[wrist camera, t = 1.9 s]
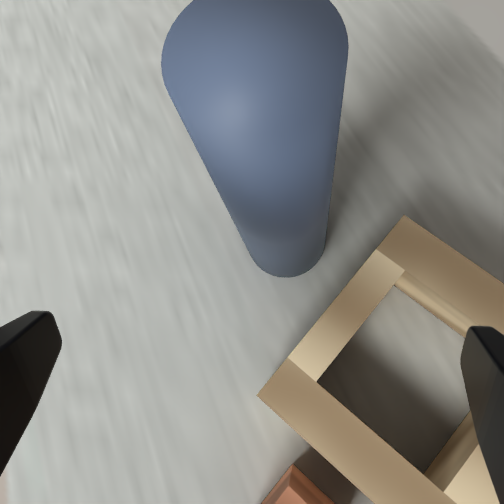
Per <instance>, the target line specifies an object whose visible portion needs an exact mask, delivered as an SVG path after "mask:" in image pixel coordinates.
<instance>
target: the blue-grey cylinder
mask: <svg viewBox="0 0 504 504" xmlns="http://www.w3.org/2000/svg"><path fill="white" fill-rule="evenodd" d="M347 59H348V36H347V32H346V28H345V25H344V22H343V20H342V18H341V16H340V14H339V12H338V11H337V9H336V8H335V6H334V5H333V4H332V3H331V2H330V1H329V0H193V1H192V2H191V3H190V4H189V5H188V6H187V7H186V8H185V9H184V10H183V11H182V12H181V13H180V15H179V16H178V17H177V19H176V20H175V22H174V23H173V25H172V26H171V28H170V30H169V32H168V34H167V37H166V40H165V43H164V46H163V51H162V61H161V67H162V76H163V80H164V84H165V86H166V89H167V91H168V93H169V95H170V97H171V99H172V101H173V103H174V105H175V107H176V109H177V111H178V113H179V115H180V117H181V119H182V121H183V123H184V125H185V127H186V129H187V131H188V133H189V135H190V137H191V139H192V141H193V143H194V145H195V147H196V149H197V151H198V153H199V155H200V157H201V159H202V160H203V162H204V164H205V166H206V168H207V170H208V172H209V174H210V176H211V178H212V180H213V182H214V184H215V186H216V188H217V190H218V192H219V194H220V196H221V198H222V200H223V202H224V204H225V206H226V208H227V210H228V212H229V214H230V216H231V218H232V220H233V222H234V223H235V225H236V227H237V229H238V231H239V233H240V235H241V237H242V239H243V241H244V243H245V245H246V247H247V249H248V251H249V253H250V255H251V257H252V259H253V260H254V262H255V263H256V264H257V266H259V267H260V268H261V269H262V270H263V271H265V272H267V273H269V274H271V275H273V276H277V277H295V276H298V275H301V274H303V273H305V272H307V271H308V270H310V269H311V268H312V267H313V266H314V265H315V264H316V263H317V262H318V260H319V259H320V257H321V255H322V253H323V250H324V246H325V238H326V230H327V222H328V214H329V206H330V198H331V189H332V181H333V173H334V165H335V157H336V149H337V140H338V132H339V124H340V116H341V108H342V99H343V91H344V83H345V75H346V67H347Z"/></svg>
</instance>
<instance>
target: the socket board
mask: <svg viewBox="0 0 504 504" xmlns="http://www.w3.org/2000/svg"><path fill="white" fill-rule="evenodd" d="M393 285H395V286H396V287H397V288H399V289H400V290H401V291H403V292H404V293H405V294H407V295H408V296H409V297H411V298H412V299H413V300H415V301H416V302H417V303H419V304H420V305H421V306H423V307H424V308H425V309H427V310H428V311H429V312H431V313H432V314H433V315H435V316H436V317H437V318H439V319H440V320H441V321H443V322H444V323H446V324H447V325H448V326H450V327H451V328H452V329H454V330H455V331H456V332H458V333H459V334H460V335H462V336H463V337H464V338H465V337H466V333H467V330H468V328H469V327H470V326H491V327H493V328H495V329H496V330H498V331H499V332H500V333H502V334H503V335H504V283H502V282H501V281H499V280H498V279H496V278H495V277H493V276H492V275H491V274H489V273H488V272H486V271H485V270H483V269H482V268H480V267H479V266H478V265H476V264H475V263H473V262H472V261H470V260H469V259H467V258H466V257H465V256H463V255H462V254H460V253H459V252H457V251H456V250H454V249H453V248H451V247H450V246H449V245H447V244H446V243H444V242H443V241H441V240H440V239H438V238H437V237H436V236H434V235H433V234H431V233H430V232H428V231H427V230H425V229H424V228H423V227H421V226H420V225H418V224H417V223H415V222H414V221H412V220H411V219H410V218H408V217H407V216H405V215H403V216H402V218H401V219H400V220H399V221H398V223H397V224H396V225H395V226H394V227H393V229H392V230H391V231H390V232H389V234H388V235H387V236H386V237H385V238H384V240H383V241H382V242H381V243H380V245H379V246H378V247H377V248H376V249H375V251H374V252H373V253H372V254H371V256H370V257H369V258H368V259H367V261H366V262H365V263H364V264H363V265H362V267H361V268H360V269H359V270H358V272H357V273H356V274H355V275H354V276H353V278H352V279H351V280H350V281H349V283H348V284H347V285H346V286H345V287H344V289H343V290H342V291H341V292H340V294H339V295H338V296H337V297H336V298H335V300H334V301H333V302H332V303H331V305H330V306H329V307H328V308H327V310H326V311H325V312H324V313H323V314H322V316H321V317H320V318H319V319H318V321H317V322H316V323H315V324H314V325H313V327H312V328H311V329H310V330H309V332H308V333H307V334H306V335H305V336H304V338H303V339H302V340H301V341H300V343H299V344H298V345H297V346H296V347H295V349H294V350H293V351H292V352H291V354H290V355H289V356H288V357H287V358H286V360H285V361H284V362H283V363H282V365H281V366H280V367H279V368H278V370H277V371H276V372H275V373H274V374H273V376H272V377H271V378H270V379H269V381H268V382H267V383H266V384H265V385H264V387H263V388H262V389H261V390H260V392H259V393H258V394H257V396H258V397H259V398H260V399H261V400H262V401H263V402H264V403H265V404H266V405H267V406H269V407H270V408H271V409H272V410H273V411H274V412H275V413H276V414H277V415H278V416H279V417H281V418H282V419H283V420H284V421H285V422H286V423H287V424H288V425H289V426H290V427H291V428H293V429H294V430H295V431H296V432H297V433H298V434H299V435H300V436H301V437H302V438H303V439H305V440H306V441H307V442H308V443H309V444H310V445H311V446H312V447H313V448H314V449H315V450H317V451H318V452H319V453H320V454H321V455H322V456H323V457H324V458H325V459H326V460H327V461H329V462H330V463H331V464H332V465H333V466H334V467H335V468H336V469H337V470H338V471H339V472H341V473H342V474H343V475H344V476H345V477H346V478H347V479H348V480H349V481H350V482H352V483H353V484H354V485H355V486H356V487H357V488H358V489H359V490H360V491H361V492H362V493H364V494H365V495H366V496H367V497H368V498H369V499H370V500H371V501H372V502H373V503H374V504H500V503H499V500H498V498H497V495H496V492H495V489H494V486H493V483H492V480H491V478H490V475H489V472H488V469H487V466H486V463H485V460H484V458H483V455H482V452H481V449H480V446H479V443H478V439H477V436H476V432H475V428H474V424H473V419H472V415H471V410H470V412H469V413H468V414H467V416H466V417H465V418H464V420H463V421H462V423H461V424H460V425H459V427H458V428H457V429H456V431H455V432H454V433H453V435H452V436H451V437H450V439H449V440H448V441H447V443H446V444H445V446H444V447H443V448H442V450H441V451H440V452H439V454H438V455H437V456H436V458H435V459H434V460H433V462H432V463H431V464H430V466H429V467H428V469H427V470H426V471H425V473H424V474H423V473H422V472H420V471H419V470H418V469H417V468H416V467H415V466H414V465H412V464H411V463H410V462H409V461H408V460H407V459H405V458H404V457H403V456H402V455H401V454H400V453H398V452H397V451H396V450H395V449H394V448H393V447H392V446H390V445H389V444H388V443H387V442H386V441H385V440H383V439H382V438H381V437H380V436H379V435H378V434H376V433H375V432H374V431H373V430H372V429H371V428H370V427H368V426H367V425H366V424H365V423H364V422H363V421H361V420H360V419H359V418H358V417H357V416H356V415H354V414H353V413H352V412H351V411H350V410H349V409H348V408H346V407H345V406H344V405H343V404H342V403H341V402H339V401H338V400H337V399H336V398H335V397H334V396H332V395H331V394H330V393H329V392H328V391H327V390H326V389H324V388H323V387H322V386H321V385H320V384H319V383H317V382H316V381H317V380H318V379H319V377H320V376H321V375H322V374H323V372H324V371H325V370H326V369H327V367H328V366H329V365H330V364H331V362H332V361H333V360H334V359H335V357H336V356H337V355H338V354H339V352H340V351H341V350H342V349H343V347H344V346H345V345H346V344H347V342H348V341H349V340H350V339H351V337H352V336H353V335H354V334H355V332H356V331H357V330H358V329H359V327H360V326H361V325H362V324H363V322H364V321H365V320H366V319H367V317H368V316H369V315H370V314H371V312H372V311H373V310H374V309H375V307H376V306H377V305H378V304H379V302H380V301H381V300H382V299H383V297H384V296H385V295H386V294H387V292H388V291H389V290H390V289H391V287H392V286H393ZM261 504H335V503H334V502H333V501H332V500H331V499H330V498H328V497H327V496H326V495H325V494H324V493H323V492H322V491H321V490H320V489H319V488H318V487H317V486H316V485H315V484H314V483H313V482H311V481H310V480H309V479H308V478H307V477H306V476H305V475H304V474H303V473H302V472H301V471H300V470H299V469H298V468H297V467H296V466H295V465H293V464H292V465H291V466H290V467H289V469H288V470H287V471H286V472H285V474H284V475H283V476H282V478H281V479H280V480H279V481H278V483H277V484H276V485H275V486H274V488H273V489H272V490H271V492H270V493H269V494H268V495H267V497H266V498H265V499H264V500H263V502H262V503H261Z"/></svg>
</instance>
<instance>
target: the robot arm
mask: <svg viewBox="0 0 504 504" xmlns="http://www.w3.org/2000/svg"><path fill="white" fill-rule="evenodd" d="M61 346H62V338H61V335H60V332H59V330H58V327H57V324H56V321H55V318H54V316H53V314H52V313H51V312H49V311H31V312H28V313H27V314H25V315H23V316H21V317H19V318H17V319H15V320H13V321H11V322H9V323H7V324H5V325H4V326H2V327H0V476H1V474H2V472H3V471H4V469H5V467H6V465H7V463H8V461H9V459H10V457H11V456H12V454H13V452H14V450H15V448H16V446H17V444H18V442H19V441H20V439H21V437H22V435H23V433H24V431H25V429H26V427H27V426H28V424H29V422H30V420H31V418H32V416H33V414H34V412H35V410H36V408H37V406H38V403H39V401H40V399H41V397H42V394H43V392H44V389H45V387H46V384H47V382H48V380H49V377H50V375H51V372H52V370H53V367H54V365H55V362H56V360H57V358H58V355H59V353H60V350H61ZM461 370H462V374H463V379H464V383H465V388H466V392H467V397H468V401H469V406H470V410H471V415H472V419H473V424H474V428H475V432H476V436H477V439H478V443H479V446H480V449H481V452H482V455H483V458H484V460H485V463H486V466H487V469H488V472H489V475H490V478H491V480H492V483H493V486H494V489H495V492H496V495H497V498H498V500H499V503H500V504H504V335H503V334H502V333H500V332H499V331H498V330H496V329H495V328H493V327H491V326H470V327H469V328H468V330H467V333H466V337H465V341H464V345H463V349H462V353H461Z"/></svg>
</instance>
